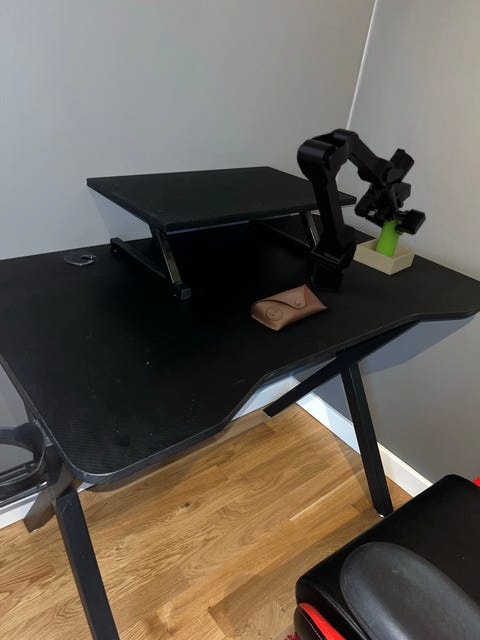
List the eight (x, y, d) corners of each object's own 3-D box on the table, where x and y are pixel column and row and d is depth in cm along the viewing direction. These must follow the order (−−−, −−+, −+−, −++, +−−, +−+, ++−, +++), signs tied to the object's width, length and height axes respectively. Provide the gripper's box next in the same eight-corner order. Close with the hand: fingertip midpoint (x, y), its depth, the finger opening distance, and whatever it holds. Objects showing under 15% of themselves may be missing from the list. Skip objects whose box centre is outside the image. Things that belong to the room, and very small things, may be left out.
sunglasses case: (278, 331, 93) (270, 299, 92) (255, 333, 99) (247, 303, 98) (330, 307, 105) (323, 279, 104) (306, 310, 110) (299, 283, 109)
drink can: (385, 258, 129) (398, 215, 123) (371, 251, 133) (383, 209, 127) (397, 255, 132) (410, 213, 126) (383, 249, 136) (395, 208, 129)
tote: (389, 275, 127) (394, 260, 124) (353, 259, 134) (356, 245, 131) (410, 265, 134) (415, 251, 132) (375, 251, 141) (379, 237, 139)
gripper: (435, 181, 113) (439, 218, 125) (370, 164, 124) (380, 199, 136) (410, 217, 112) (417, 250, 124) (347, 196, 123) (359, 229, 135)
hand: (393, 231), depth 130 cm, fingers closed on drink can, 5 cm apart
